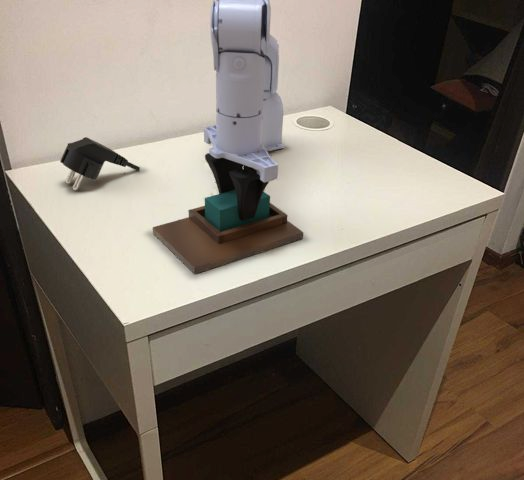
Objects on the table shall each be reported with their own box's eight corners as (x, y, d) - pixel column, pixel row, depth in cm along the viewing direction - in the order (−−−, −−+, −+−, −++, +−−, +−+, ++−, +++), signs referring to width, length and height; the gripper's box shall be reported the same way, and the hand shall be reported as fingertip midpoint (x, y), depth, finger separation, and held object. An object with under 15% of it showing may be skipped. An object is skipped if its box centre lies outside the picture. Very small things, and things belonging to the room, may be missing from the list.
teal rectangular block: (253, 207, 84) (254, 184, 82) (269, 219, 81) (270, 196, 79) (205, 221, 80) (204, 197, 78) (220, 233, 78) (219, 210, 76)
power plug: (149, 170, 92) (83, 139, 83) (128, 213, 94) (61, 187, 85) (132, 158, 95) (67, 126, 86) (112, 199, 97) (47, 173, 88)
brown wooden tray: (256, 204, 87) (256, 190, 85) (303, 238, 80) (304, 224, 78) (152, 233, 79) (151, 219, 78) (194, 274, 72) (193, 259, 71)
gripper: (182, 96, 74) (186, 196, 83) (244, 135, 65) (242, 242, 74) (229, 88, 77) (229, 185, 86) (295, 124, 68) (287, 228, 77)
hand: (238, 210), depth 80 cm, fingers closed on teal rectangular block, 4 cm apart
